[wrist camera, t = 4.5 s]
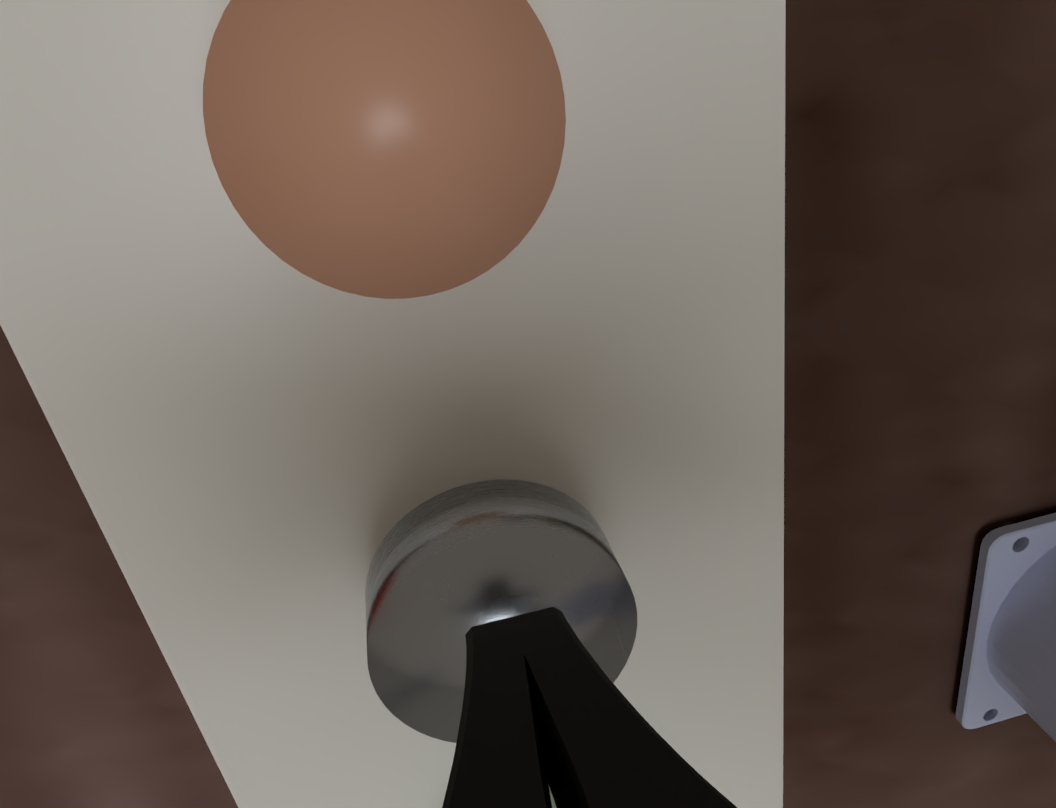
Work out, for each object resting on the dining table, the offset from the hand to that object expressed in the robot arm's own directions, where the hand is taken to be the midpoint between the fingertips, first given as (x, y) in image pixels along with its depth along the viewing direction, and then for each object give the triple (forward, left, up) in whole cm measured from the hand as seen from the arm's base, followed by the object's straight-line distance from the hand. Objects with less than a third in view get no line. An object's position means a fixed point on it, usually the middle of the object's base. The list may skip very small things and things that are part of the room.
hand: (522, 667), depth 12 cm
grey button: (0, +2, -4) cm, 4 cm away
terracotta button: (0, -7, -5) cm, 9 cm away
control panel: (0, +2, -7) cm, 7 cm away
